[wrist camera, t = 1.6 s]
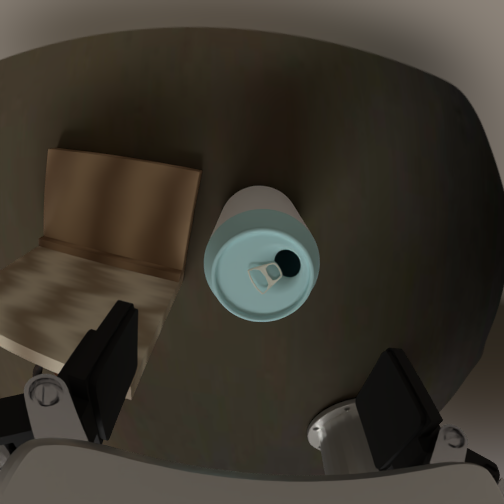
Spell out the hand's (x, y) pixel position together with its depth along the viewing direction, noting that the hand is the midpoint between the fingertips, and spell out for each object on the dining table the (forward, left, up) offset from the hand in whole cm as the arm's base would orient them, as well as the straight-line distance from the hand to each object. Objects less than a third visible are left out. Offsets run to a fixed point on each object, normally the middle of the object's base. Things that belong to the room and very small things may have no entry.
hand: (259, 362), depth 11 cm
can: (0, 0, -19) cm, 19 cm away
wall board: (+14, +2, -19) cm, 23 cm away
